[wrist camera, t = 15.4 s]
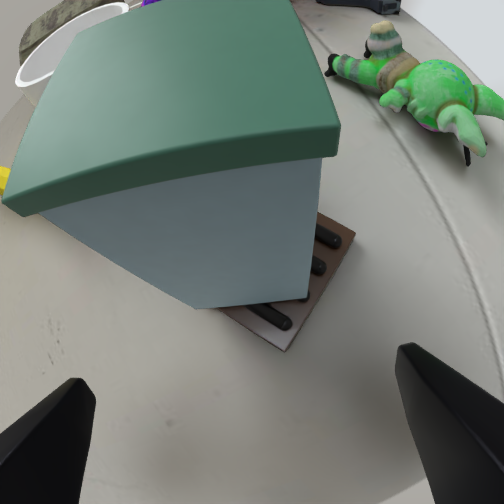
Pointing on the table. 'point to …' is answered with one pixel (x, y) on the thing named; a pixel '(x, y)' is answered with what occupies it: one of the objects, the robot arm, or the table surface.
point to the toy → (421, 87)
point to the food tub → (186, 148)
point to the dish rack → (297, 310)
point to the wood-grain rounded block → (55, 22)
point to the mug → (59, 49)
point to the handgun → (369, 4)
